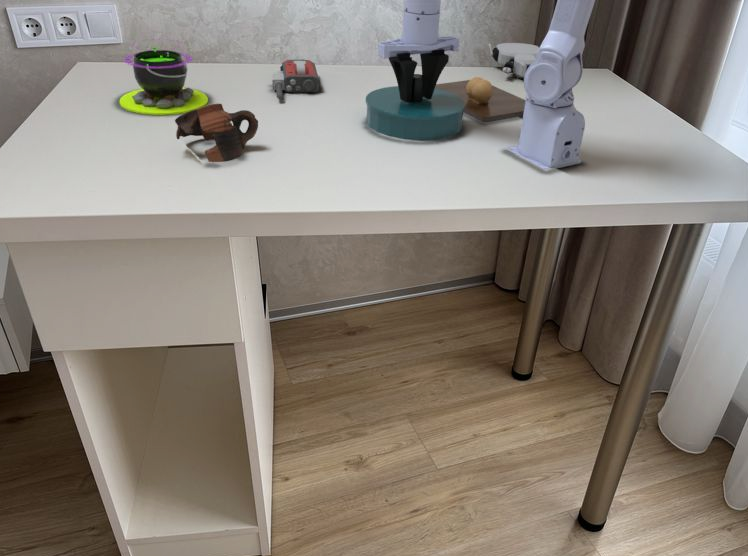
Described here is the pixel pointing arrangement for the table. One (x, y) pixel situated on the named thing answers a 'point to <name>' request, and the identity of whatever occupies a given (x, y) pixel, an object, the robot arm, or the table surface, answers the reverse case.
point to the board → (495, 109)
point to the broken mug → (218, 130)
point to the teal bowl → (414, 126)
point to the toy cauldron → (161, 84)
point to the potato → (479, 90)
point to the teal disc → (415, 102)
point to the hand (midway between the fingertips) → (415, 99)
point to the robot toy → (515, 57)
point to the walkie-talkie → (296, 77)
